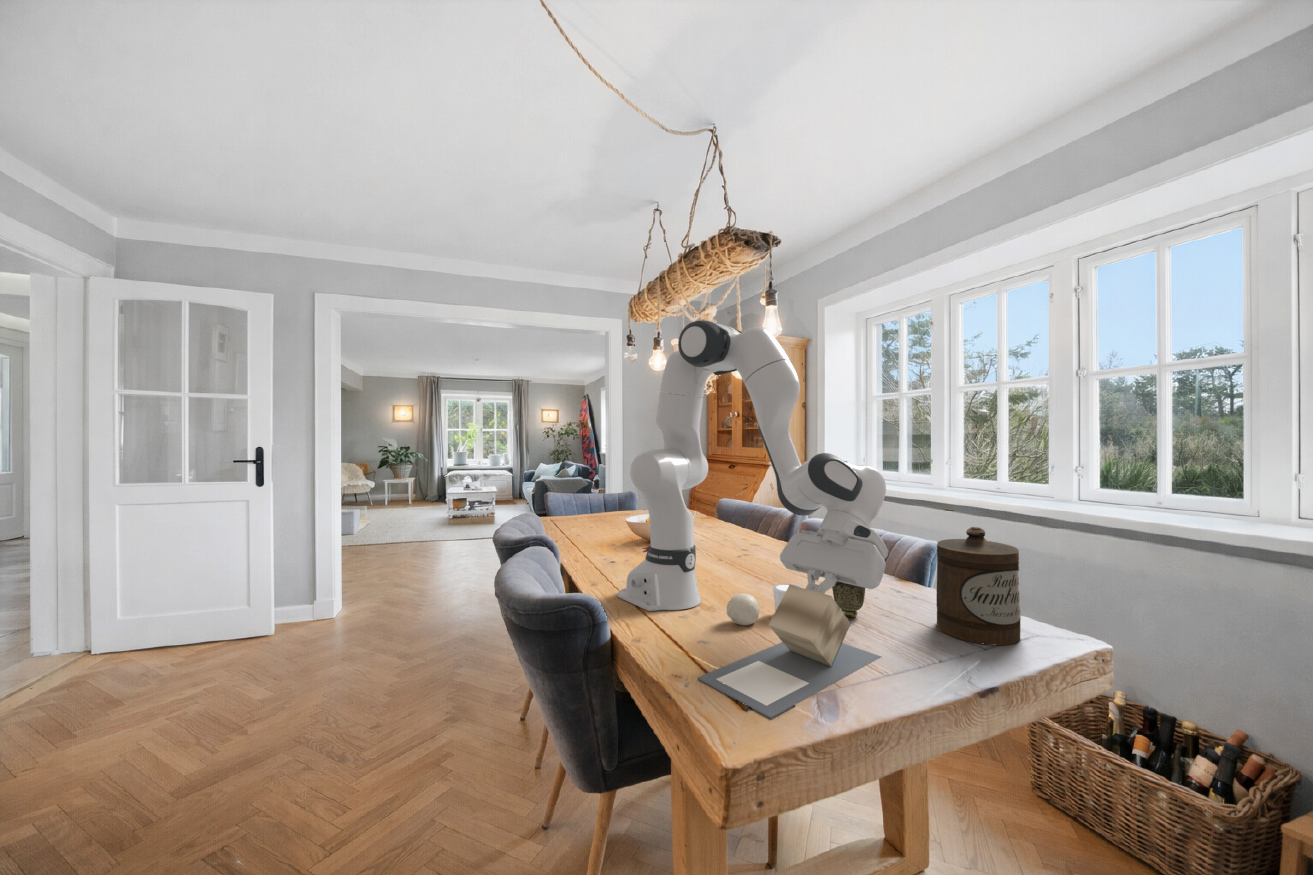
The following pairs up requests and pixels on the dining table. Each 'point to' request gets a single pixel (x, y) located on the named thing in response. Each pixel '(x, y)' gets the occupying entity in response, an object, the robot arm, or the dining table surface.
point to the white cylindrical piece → (780, 593)
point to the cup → (848, 598)
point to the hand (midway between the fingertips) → (813, 594)
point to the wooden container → (978, 589)
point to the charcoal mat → (782, 677)
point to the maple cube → (810, 624)
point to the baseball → (743, 609)
